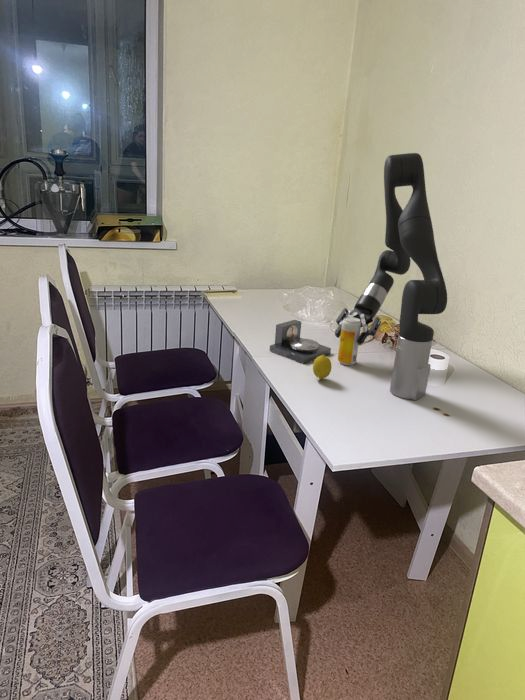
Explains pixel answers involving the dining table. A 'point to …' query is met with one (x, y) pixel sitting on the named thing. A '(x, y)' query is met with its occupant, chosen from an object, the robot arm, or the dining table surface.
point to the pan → (304, 344)
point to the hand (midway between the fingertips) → (347, 339)
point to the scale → (288, 333)
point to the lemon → (322, 367)
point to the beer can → (349, 340)
